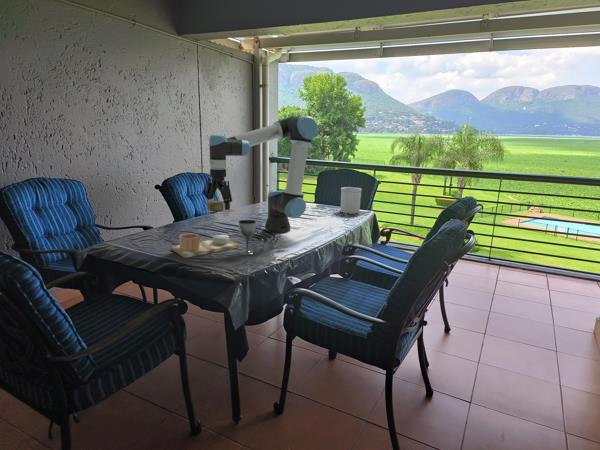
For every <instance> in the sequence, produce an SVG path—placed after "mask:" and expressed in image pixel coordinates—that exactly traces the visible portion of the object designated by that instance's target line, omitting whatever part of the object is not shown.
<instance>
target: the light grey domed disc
mask: <svg viewBox="0 0 600 450" xmlns="http://www.w3.org/2000/svg"><path fill="white" fill-rule="evenodd" d="M212 239H213V244H215V245H226V244H229V240H230V236H229V235H226V234H216V235H213V236H212Z"/></svg>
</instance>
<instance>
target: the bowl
mask: <svg viewBox="0 0 600 450" xmlns="http://www.w3.org/2000/svg"><path fill="white" fill-rule="evenodd" d="M178 238H179V239H178V240H179V244H178V245H180V250H182V251H195V250H198V249H199V248H200V234H197V233H183V234H180V235H179V236H178Z"/></svg>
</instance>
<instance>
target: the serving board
mask: <svg viewBox="0 0 600 450" xmlns="http://www.w3.org/2000/svg"><path fill="white" fill-rule="evenodd" d="M239 248H240V244H239V243H237V242H235V241H233V240H231V239H229V244H226V245H215V244H213V238H212V239H207V240H201V241H200V248H199V249H198V250H195V251H182V250H180V244H178V245H172V246H171V250H172V251H173V252H175V253H177V254H178V255H180V257H183V258H184V259H185V258H187V259H188V258H191V257H196V256H202V255H207V254H212V253H216V252H222V251H228V250H234V249H239Z"/></svg>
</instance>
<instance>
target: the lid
mask: <svg viewBox="0 0 600 450" xmlns="http://www.w3.org/2000/svg"><path fill="white" fill-rule="evenodd" d="M223 202H224V200H214V201H211V202H209V201H207V202H206V210H207V211H208V212H209V211H214V212H223ZM230 210H231V202H229V211H230Z"/></svg>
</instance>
